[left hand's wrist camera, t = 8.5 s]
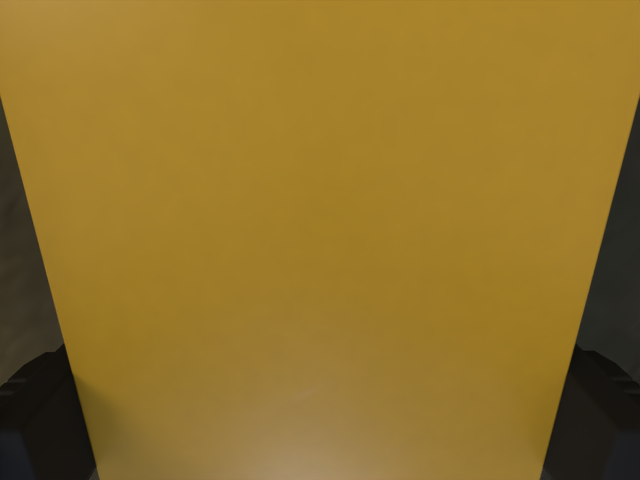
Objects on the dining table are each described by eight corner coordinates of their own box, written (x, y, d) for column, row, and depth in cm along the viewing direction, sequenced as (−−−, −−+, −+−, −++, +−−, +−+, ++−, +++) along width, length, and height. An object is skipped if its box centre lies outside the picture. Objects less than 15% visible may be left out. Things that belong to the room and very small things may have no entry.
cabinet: (163, -191, 13) (-293, -1015, 3) (476, -190, 13) (932, -1014, 3) (216, 323, 20) (115, 545, 10) (423, 323, 20) (523, 546, 10)
